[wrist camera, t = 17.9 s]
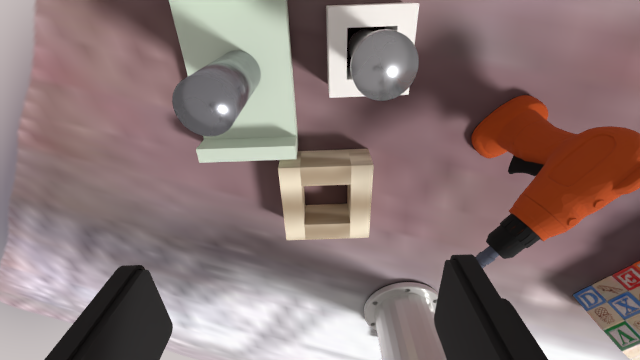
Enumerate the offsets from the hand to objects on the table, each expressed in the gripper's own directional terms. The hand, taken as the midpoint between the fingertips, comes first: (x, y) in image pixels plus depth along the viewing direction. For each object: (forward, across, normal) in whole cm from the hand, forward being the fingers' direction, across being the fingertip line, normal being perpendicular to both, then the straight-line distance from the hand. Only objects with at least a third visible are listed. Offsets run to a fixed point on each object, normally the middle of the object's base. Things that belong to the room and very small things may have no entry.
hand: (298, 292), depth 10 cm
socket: (+26, -1, +11) cm, 28 cm away
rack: (+25, +7, -3) cm, 26 cm away
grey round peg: (+23, +7, -3) cm, 25 cm away
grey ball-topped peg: (+24, -5, -5) cm, 25 cm away
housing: (+25, -5, -5) cm, 26 cm away
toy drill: (+26, -18, +7) cm, 32 cm away
